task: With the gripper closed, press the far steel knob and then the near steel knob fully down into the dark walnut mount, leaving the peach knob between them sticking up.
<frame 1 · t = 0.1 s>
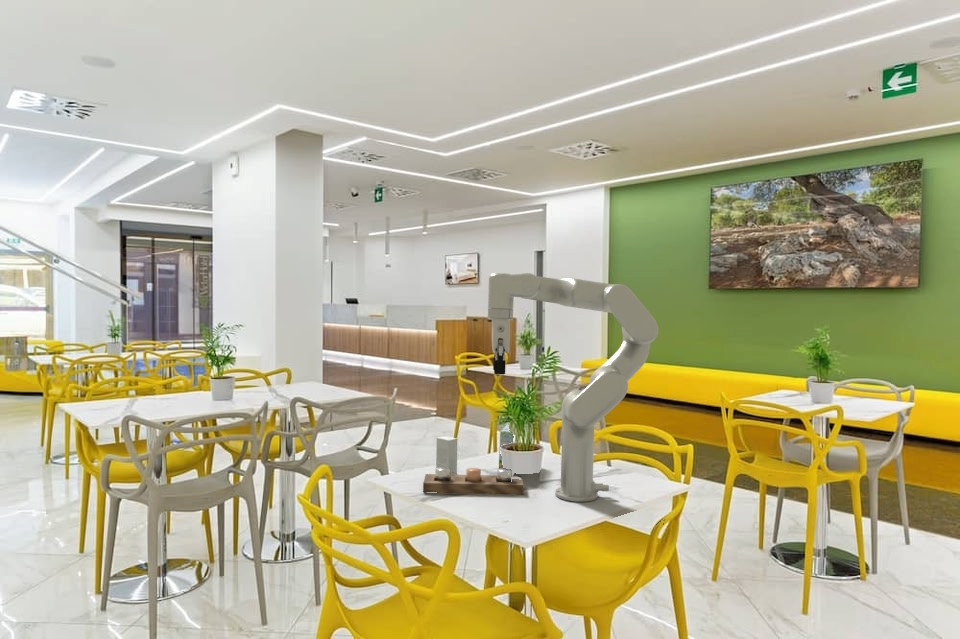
hand: (499, 372, 193), 37 cm above the table, tool pointing down, fingers open, 9 cm apart
far steel knob: (442, 474, 198), point 4 cm above the table, slide at 0.0 cm
peach knob: (473, 475, 199), point 4 cm above the table, slide at 0.0 cm
skincare box: (446, 474, 216), on the table
near steel knob: (504, 475, 199), point 4 cm above the table, slide at 0.0 cm
snack box: (510, 469, 224), on the table
walnut mount: (473, 489, 199), on the table
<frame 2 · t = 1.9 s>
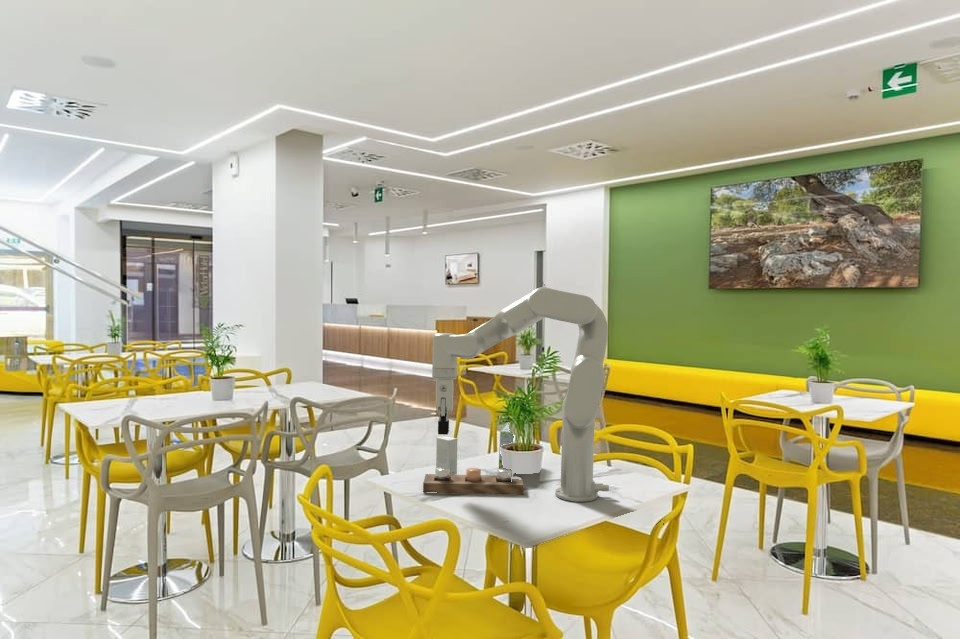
hand: (443, 433, 198), 17 cm above the table, tool pointing down, fingers closed
nothing on the table moved.
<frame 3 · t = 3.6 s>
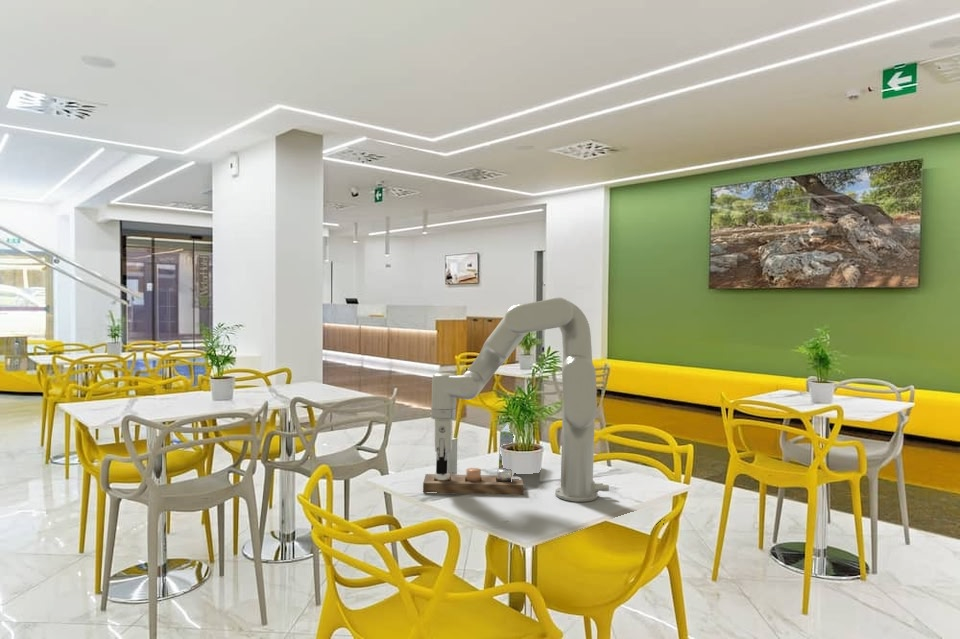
hand: (441, 472, 198), 5 cm above the table, tool pointing down, fingers closed
far steel knob: (442, 478, 198), point 3 cm above the table, slide at 1.2 cm, touching gripper
everything else where it was.
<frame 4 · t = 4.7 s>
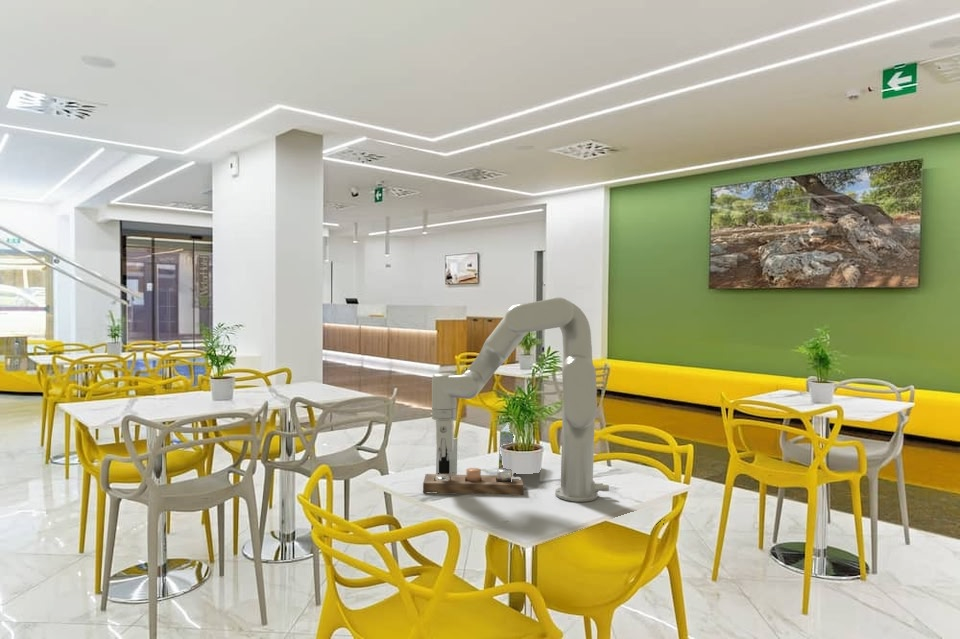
hand: (444, 473, 198), 5 cm above the table, tool pointing down, fingers closed
far steel knob: (442, 482, 199), point 2 cm above the table, slide at 2.5 cm
everything else where it was.
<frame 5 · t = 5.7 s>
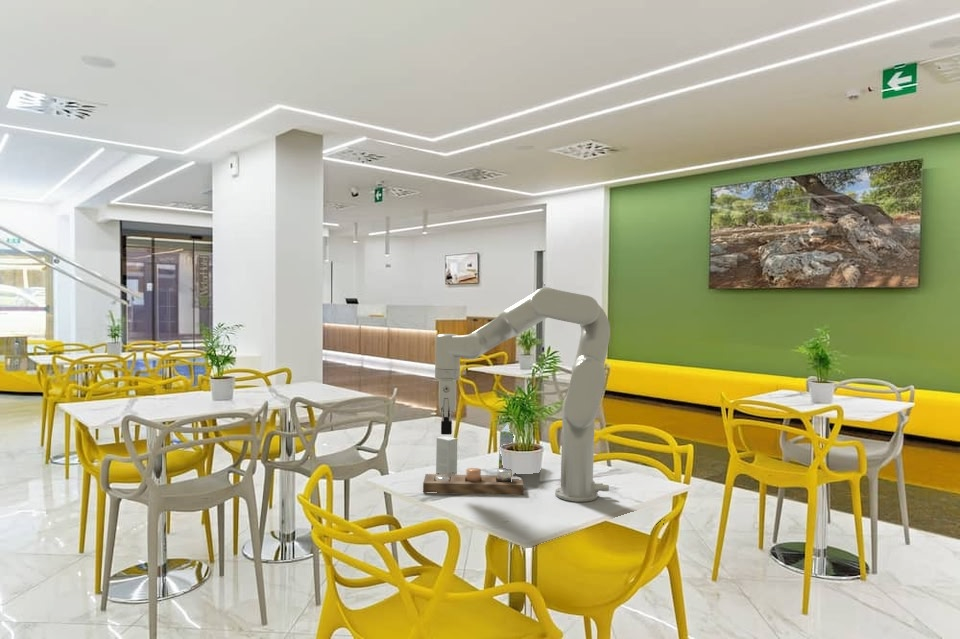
hand: (446, 433, 198), 17 cm above the table, tool pointing down, fingers closed
nothing on the table moved.
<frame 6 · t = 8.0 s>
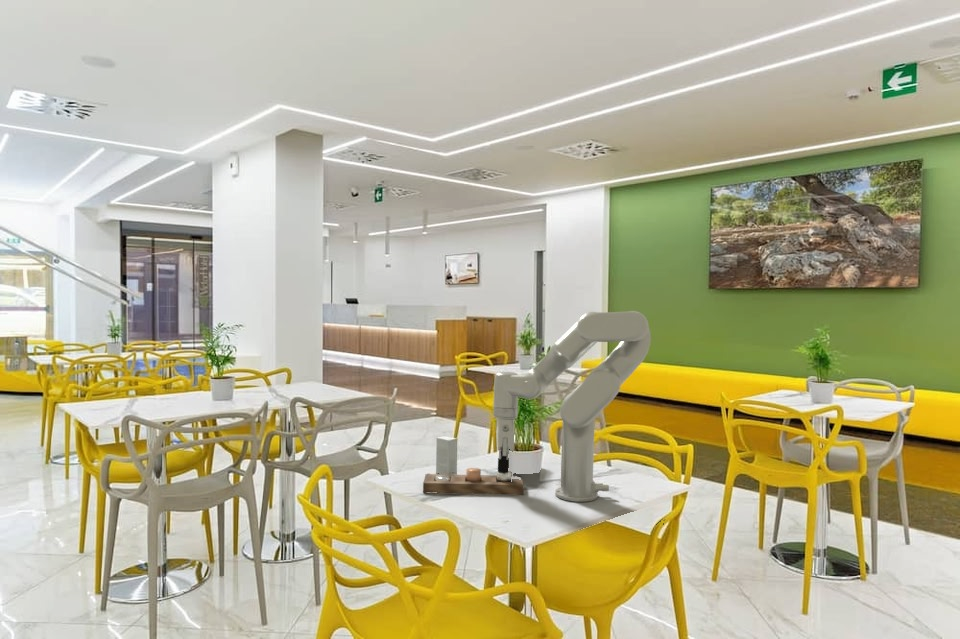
hand: (502, 471, 199), 6 cm above the table, tool pointing down, fingers closed
near steel knob: (504, 477, 199), point 4 cm above the table, slide at 0.5 cm, touching gripper
everything else where it was.
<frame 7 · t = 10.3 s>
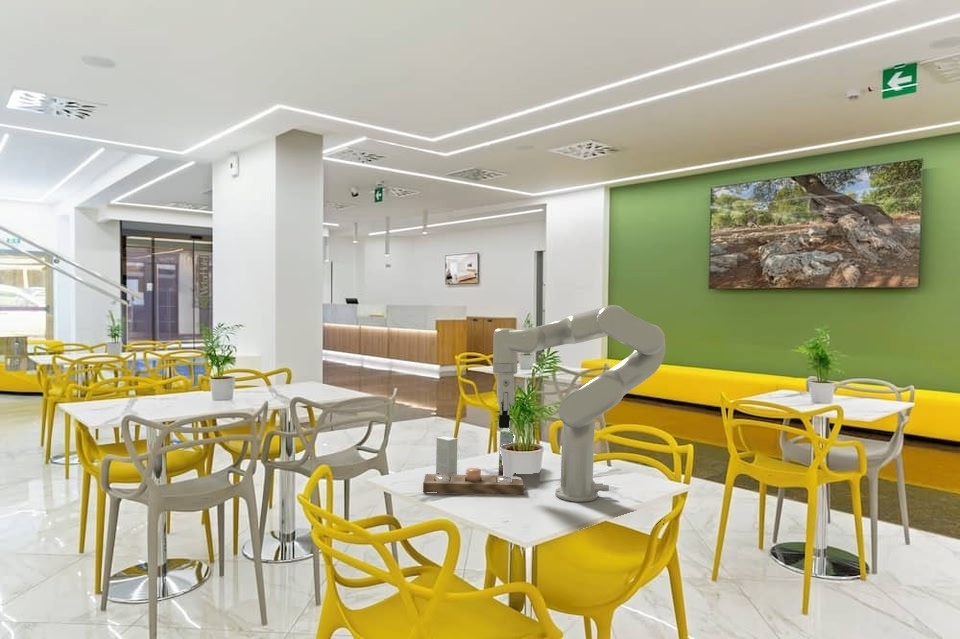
hand: (504, 427, 200), 19 cm above the table, tool pointing down, fingers closed
near steel knob: (504, 483, 199), point 2 cm above the table, slide at 2.5 cm
everything else where it was.
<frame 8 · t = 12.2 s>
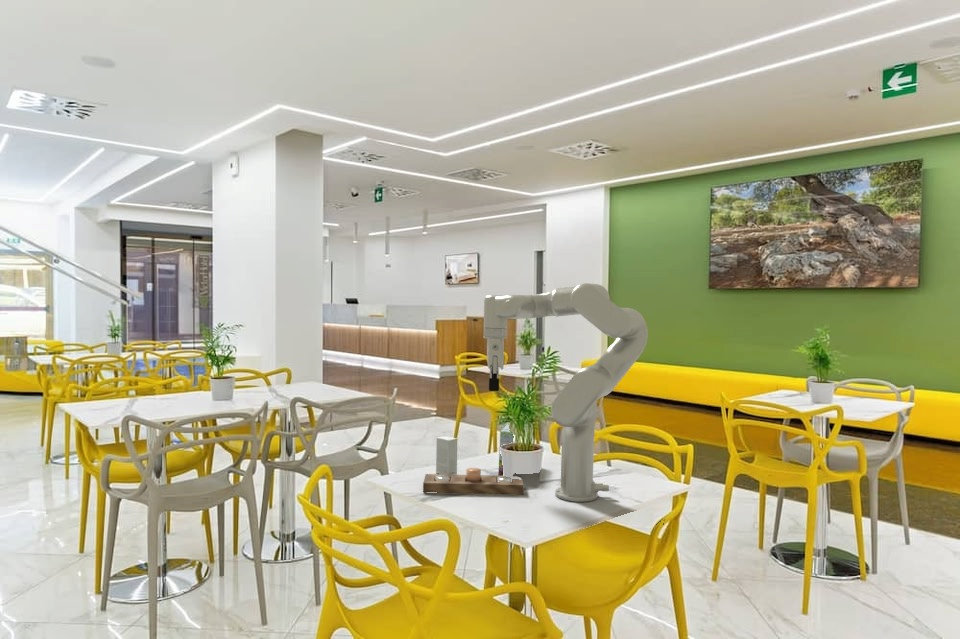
hand: (493, 390, 208), 29 cm above the table, tool pointing down, fingers closed
nothing on the table moved.
at the end: far steel knob slide at 2.5 cm; near steel knob slide at 2.5 cm; peach knob slide at 0.0 cm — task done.
